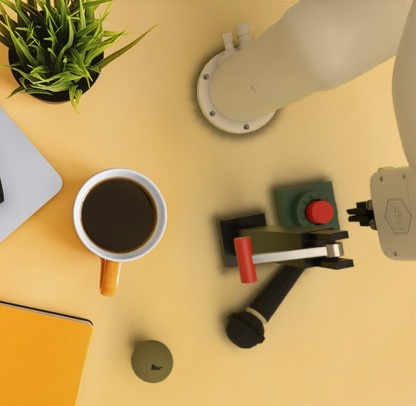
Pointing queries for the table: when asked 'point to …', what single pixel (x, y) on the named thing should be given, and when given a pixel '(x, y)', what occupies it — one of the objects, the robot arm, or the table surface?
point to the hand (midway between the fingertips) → (358, 213)
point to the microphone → (261, 310)
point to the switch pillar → (279, 241)
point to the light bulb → (151, 361)
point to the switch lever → (277, 256)
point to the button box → (304, 204)
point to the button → (319, 212)
